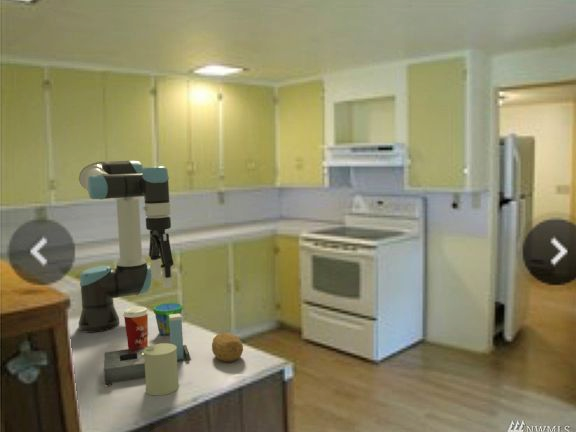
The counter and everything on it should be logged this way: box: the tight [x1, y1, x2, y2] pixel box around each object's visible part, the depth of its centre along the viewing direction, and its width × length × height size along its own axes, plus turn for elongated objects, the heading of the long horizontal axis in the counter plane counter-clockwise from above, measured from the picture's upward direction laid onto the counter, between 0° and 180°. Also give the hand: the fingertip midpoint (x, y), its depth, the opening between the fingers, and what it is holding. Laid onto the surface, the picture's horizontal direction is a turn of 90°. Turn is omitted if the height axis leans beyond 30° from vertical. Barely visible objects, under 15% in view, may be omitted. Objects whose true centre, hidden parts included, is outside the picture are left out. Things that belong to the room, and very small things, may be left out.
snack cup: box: [153, 302, 184, 337], centre depth 191 cm, size 16×10×10 cm
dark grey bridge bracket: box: [177, 344, 192, 363], centre depth 165 cm, size 8×8×3 cm
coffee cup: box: [122, 306, 149, 349], centre depth 171 cm, size 8×8×15 cm
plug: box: [169, 313, 184, 360], centre depth 164 cm, size 4×4×14 cm
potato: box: [211, 332, 244, 363], centre depth 163 cm, size 10×14×8 cm
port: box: [103, 345, 150, 387], centre depth 155 cm, size 14×14×5 cm
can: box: [143, 342, 180, 396], centre depth 144 cm, size 9×9×12 cm
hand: (162, 283), depth 160 cm, fingers open, 13 cm apart
